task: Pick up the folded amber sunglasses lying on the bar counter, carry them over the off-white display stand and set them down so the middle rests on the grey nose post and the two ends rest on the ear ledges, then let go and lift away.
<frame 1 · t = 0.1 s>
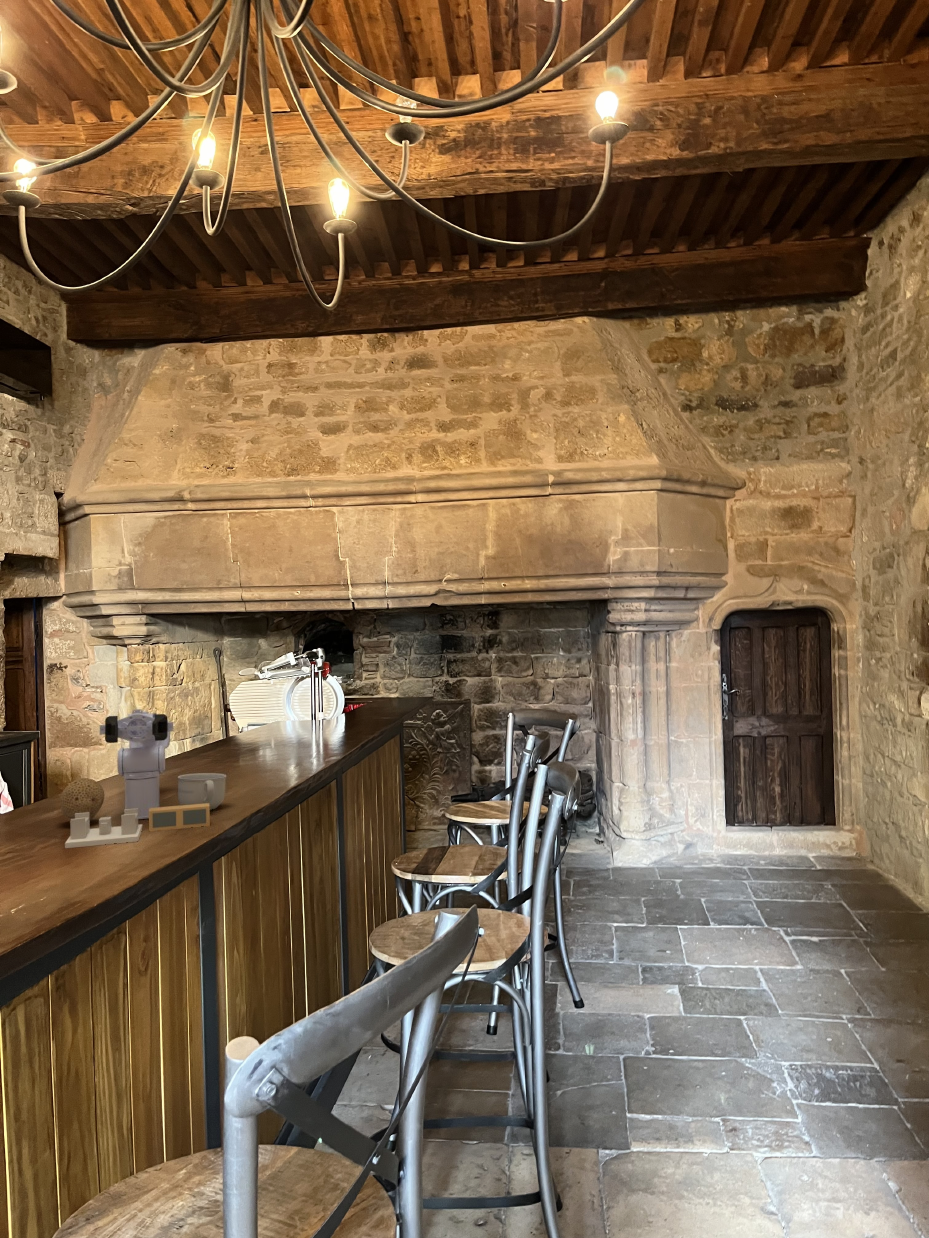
hand: (133, 729, 163), 22 cm above the table, tool horizontal, fingers open, 7 cm apart
teacup: (203, 811, 186), on the table
display stand: (105, 838, 161), on the table
natural sponge: (82, 824, 174), on the table
sunglasses: (180, 827, 169), on the table
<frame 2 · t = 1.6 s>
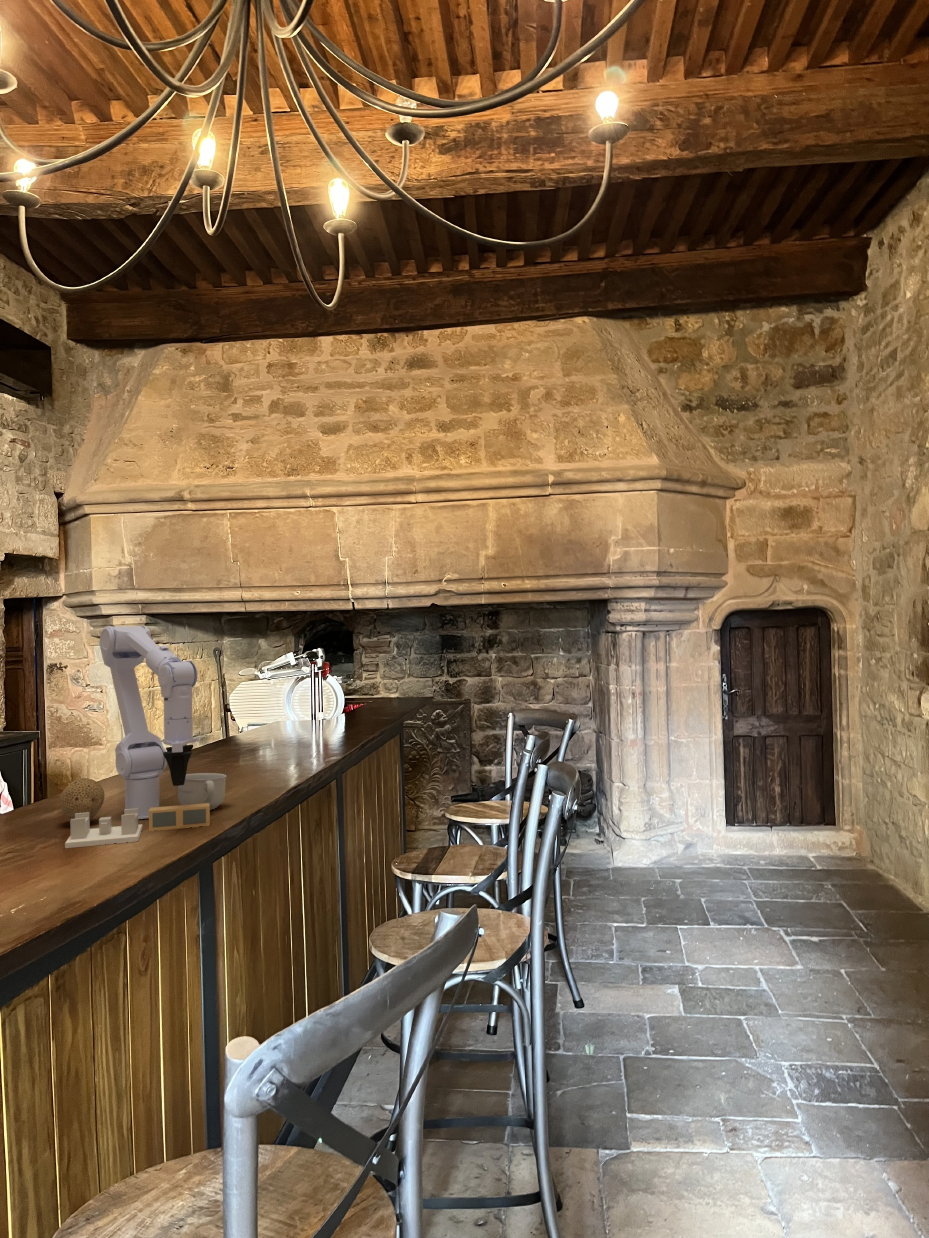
hand: (179, 782, 170), 9 cm above the table, tool pointing down, fingers open, 7 cm apart
nothing on the table moved.
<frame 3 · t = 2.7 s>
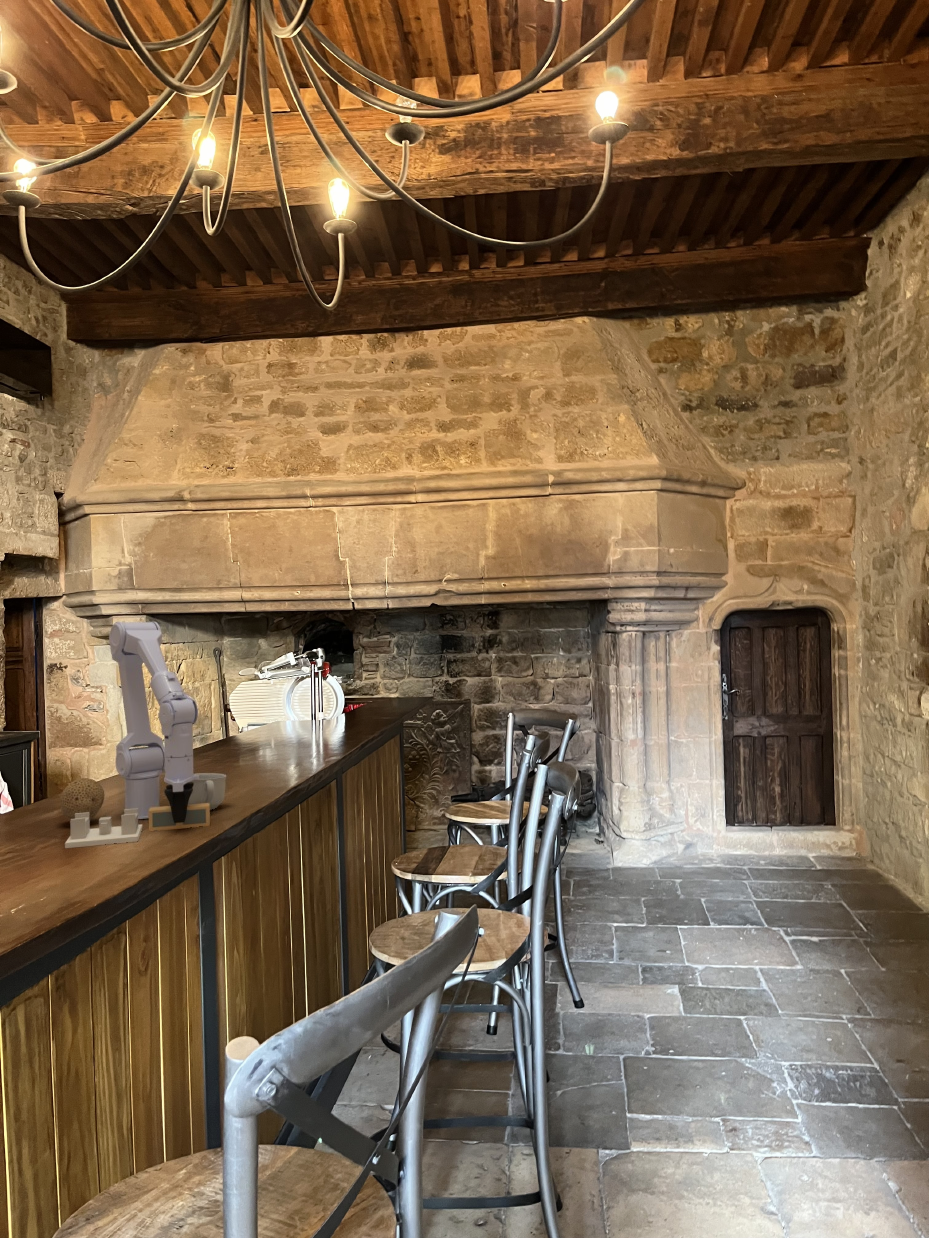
hand: (179, 820, 169), 1 cm above the table, tool pointing down, fingers open, 4 cm apart
sunglasses: (180, 827, 170), on the table, touching gripper
everything else where it was.
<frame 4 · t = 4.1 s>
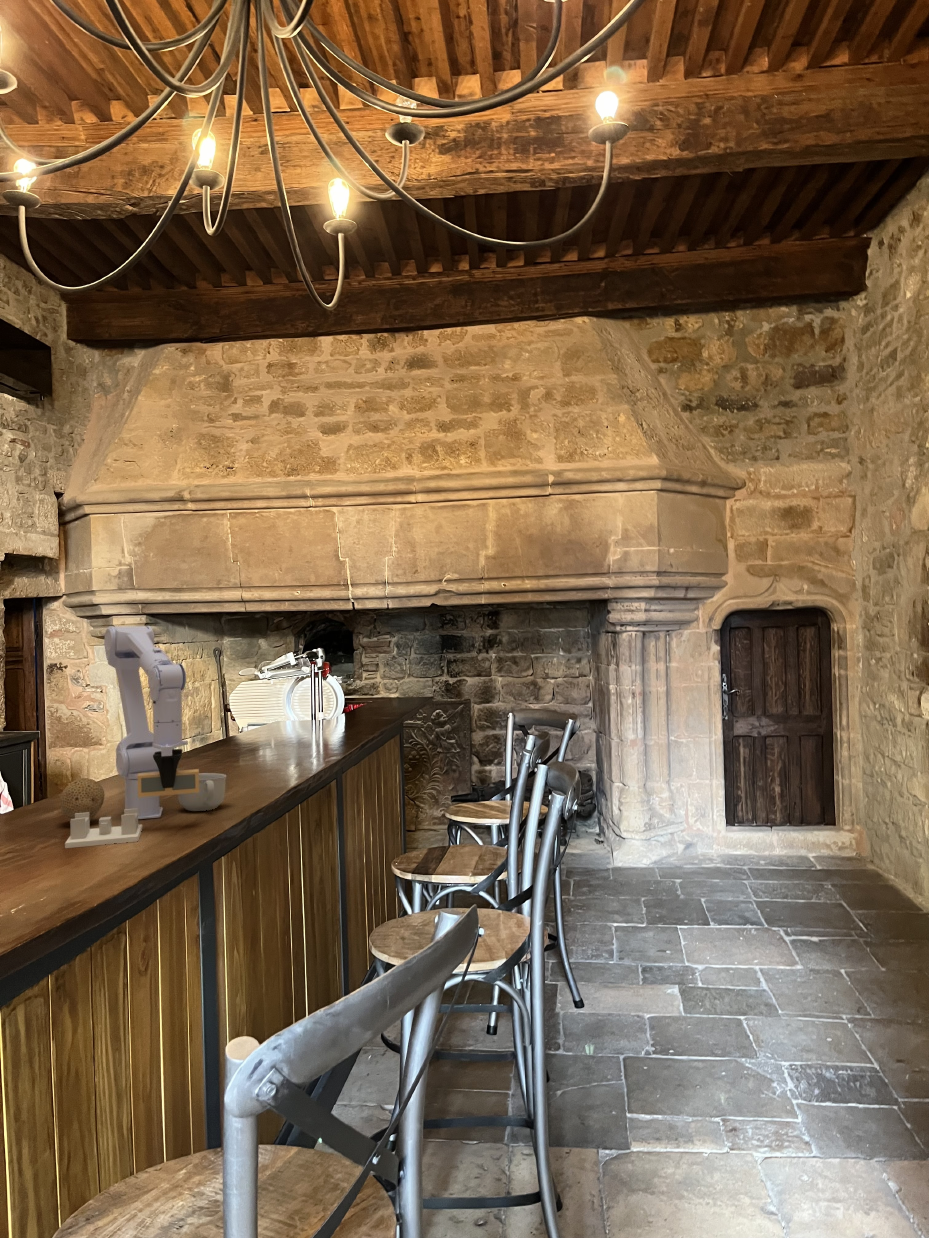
hand: (168, 786, 168), 9 cm above the table, tool pointing down, fingers closed on sunglasses, 3 cm apart
sunglasses: (169, 793, 168), point 7 cm above the table, touching gripper
everything else where it was.
when the fingers open (6 cm above the table, at t = 5.5 s): sunglasses stays where it is, resting on display stand.
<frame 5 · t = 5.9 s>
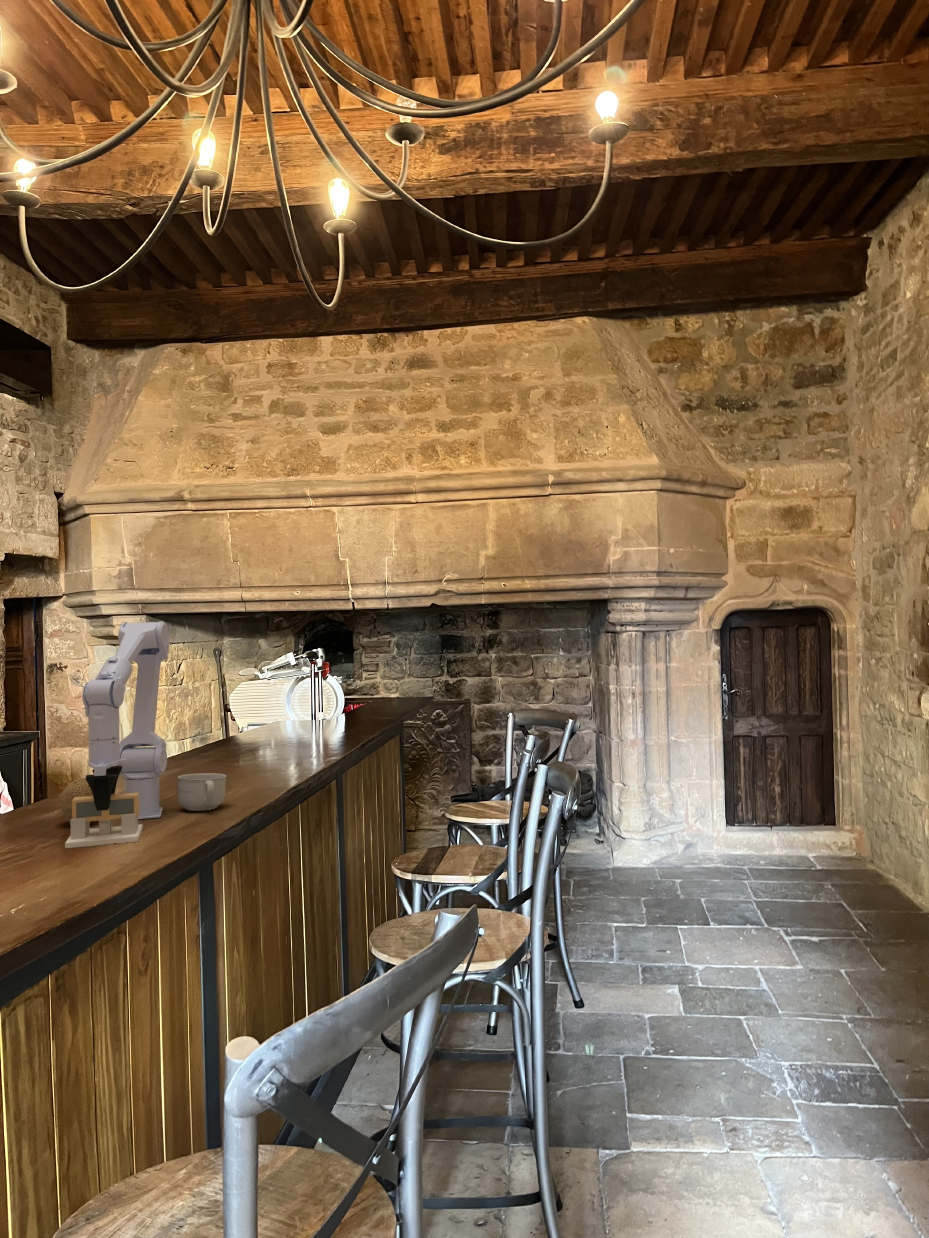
hand: (105, 806, 161), 6 cm above the table, tool pointing down, fingers open, 7 cm apart
sunglasses: (106, 818, 161), point 4 cm above the table, touching display stand
everything else where it was.
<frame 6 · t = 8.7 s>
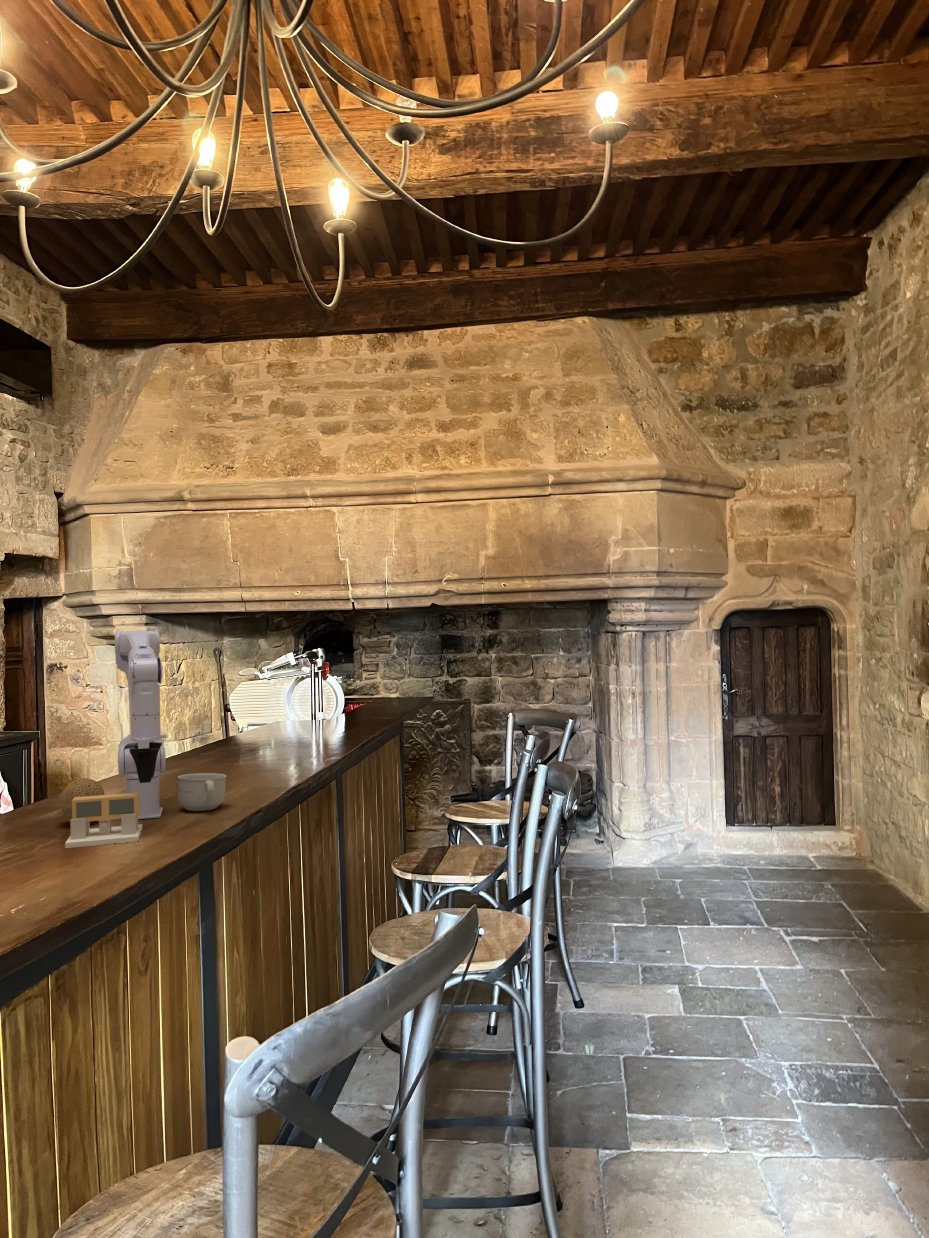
hand: (146, 779, 168), 10 cm above the table, tool pointing down, fingers open, 7 cm apart
nothing on the table moved.
at the end: sunglasses 0.2 cm off-centre on the display stand, point 4.0 cm above the display stand's base; sunglasses tilted 0°; the gripper is holding nothing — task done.
